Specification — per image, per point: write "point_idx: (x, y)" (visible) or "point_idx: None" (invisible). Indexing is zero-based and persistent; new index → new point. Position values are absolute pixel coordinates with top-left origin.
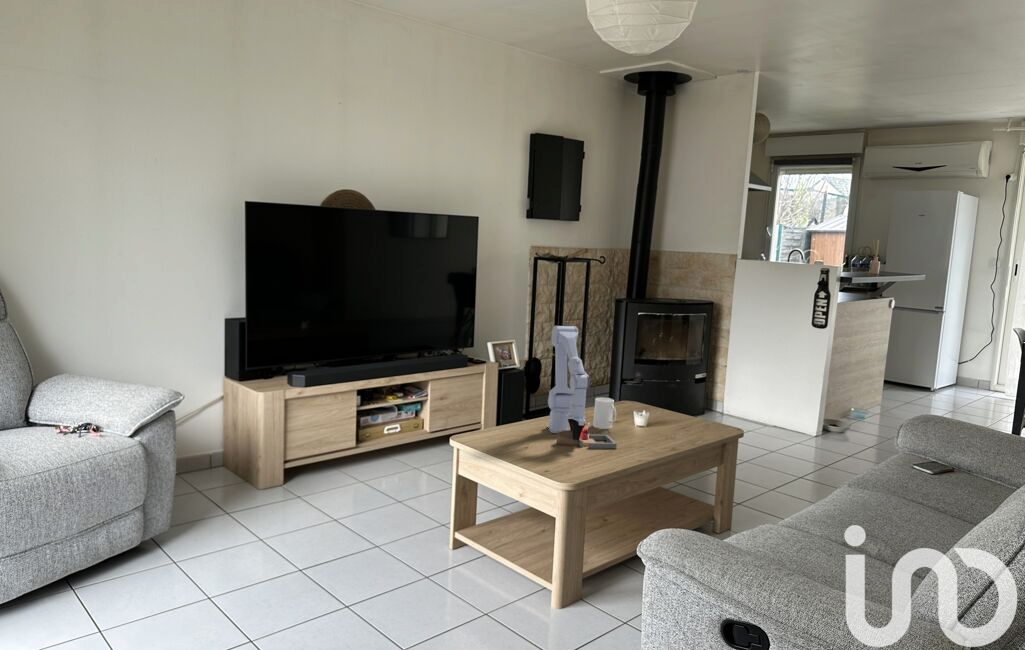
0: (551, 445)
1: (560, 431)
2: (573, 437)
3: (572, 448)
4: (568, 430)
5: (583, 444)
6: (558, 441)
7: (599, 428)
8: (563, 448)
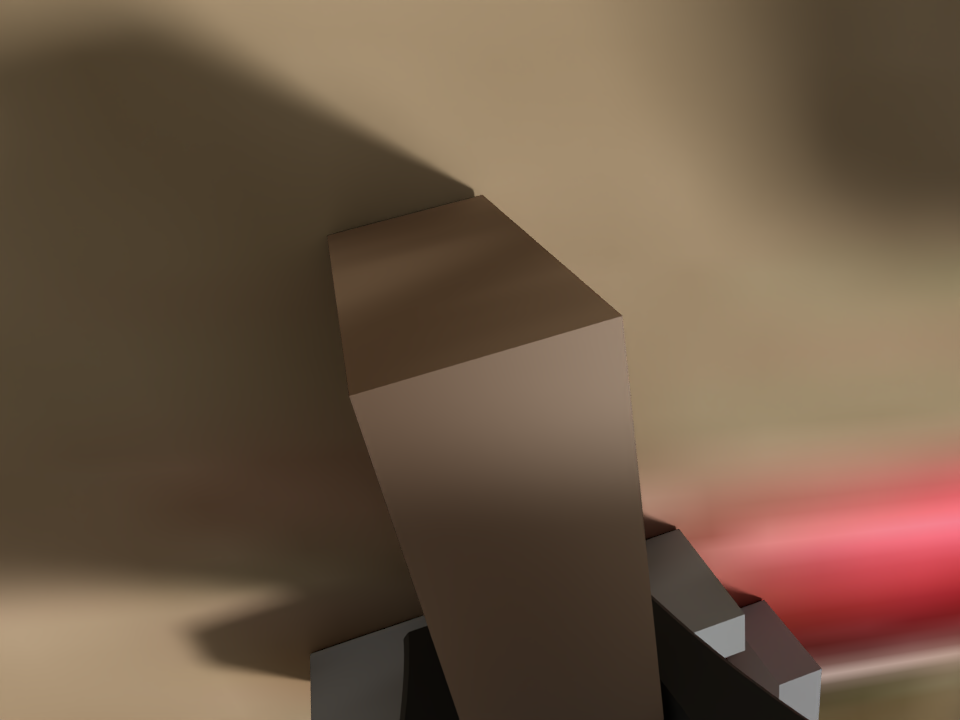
0: (159, 25)
1: (430, 432)
2: (416, 666)
3: (124, 551)
4: (639, 649)
5: None
6: (342, 253)
7: None
8: (9, 371)
